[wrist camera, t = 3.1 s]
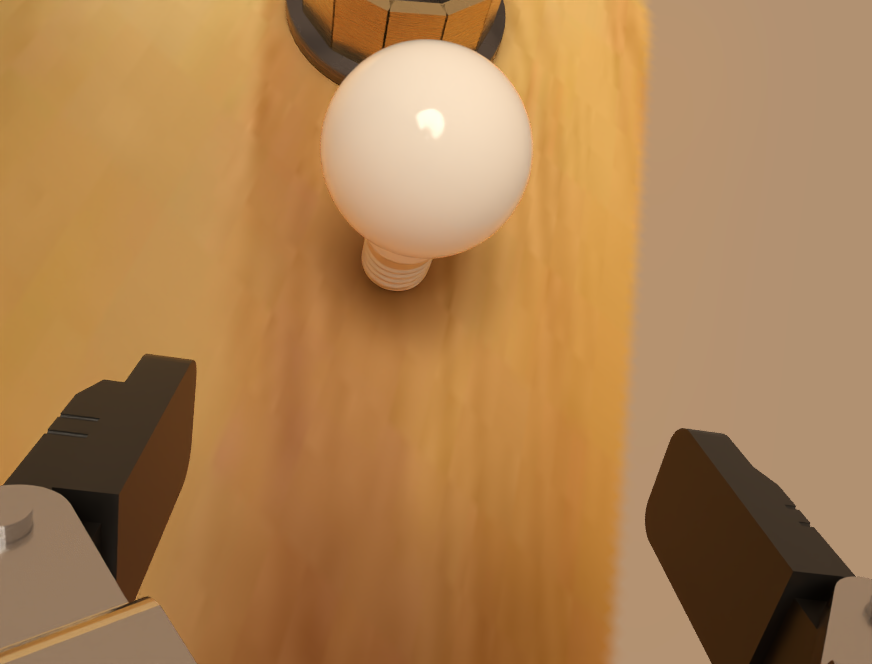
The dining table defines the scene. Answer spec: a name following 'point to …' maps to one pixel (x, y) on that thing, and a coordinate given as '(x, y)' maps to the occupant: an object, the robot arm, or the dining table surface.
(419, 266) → the lightbulb
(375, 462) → the dining table surface
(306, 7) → the bulb holder
